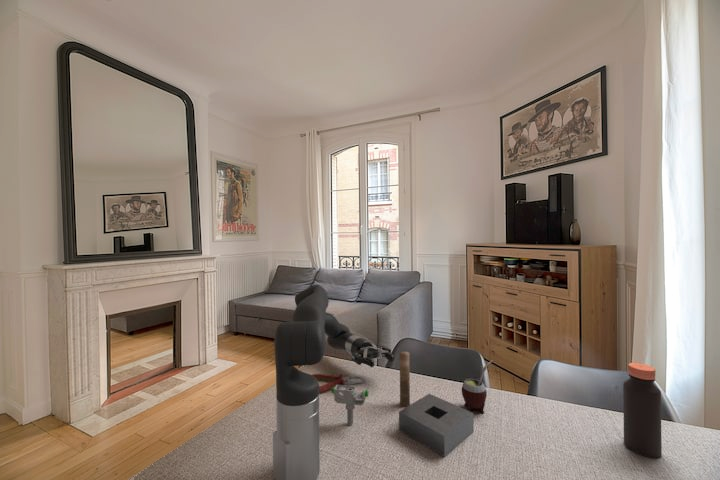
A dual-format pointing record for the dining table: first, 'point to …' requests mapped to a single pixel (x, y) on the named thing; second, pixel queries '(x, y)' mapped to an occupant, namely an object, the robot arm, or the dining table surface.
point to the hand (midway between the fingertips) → (383, 361)
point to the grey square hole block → (436, 423)
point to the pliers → (335, 381)
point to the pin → (404, 379)
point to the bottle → (642, 411)
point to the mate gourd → (475, 393)
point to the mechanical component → (349, 399)
